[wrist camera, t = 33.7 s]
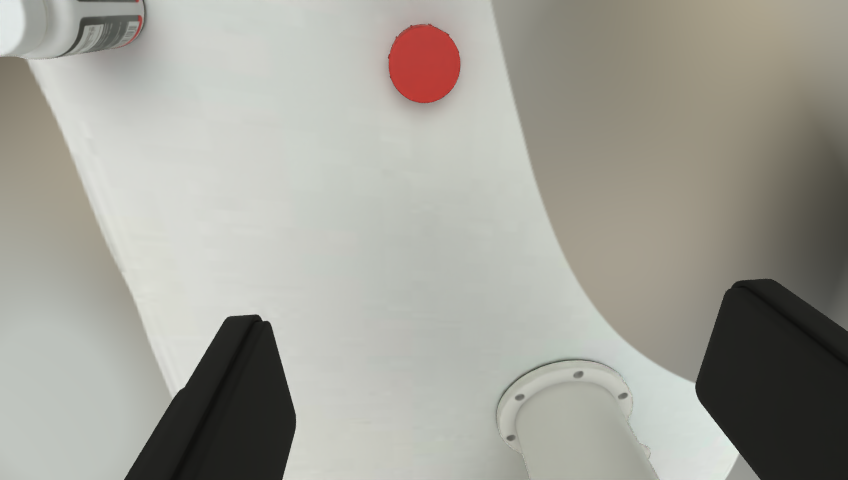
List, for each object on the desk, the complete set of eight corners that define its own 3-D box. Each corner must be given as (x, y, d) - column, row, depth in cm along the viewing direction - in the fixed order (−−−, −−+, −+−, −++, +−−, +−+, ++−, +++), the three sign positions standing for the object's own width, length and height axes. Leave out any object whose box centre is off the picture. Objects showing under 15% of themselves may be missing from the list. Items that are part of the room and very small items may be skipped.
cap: (379, 77, 26) (377, 84, 24) (406, 11, 24) (407, 11, 22) (436, 106, 27) (440, 114, 25) (466, 44, 25) (473, 47, 23)
